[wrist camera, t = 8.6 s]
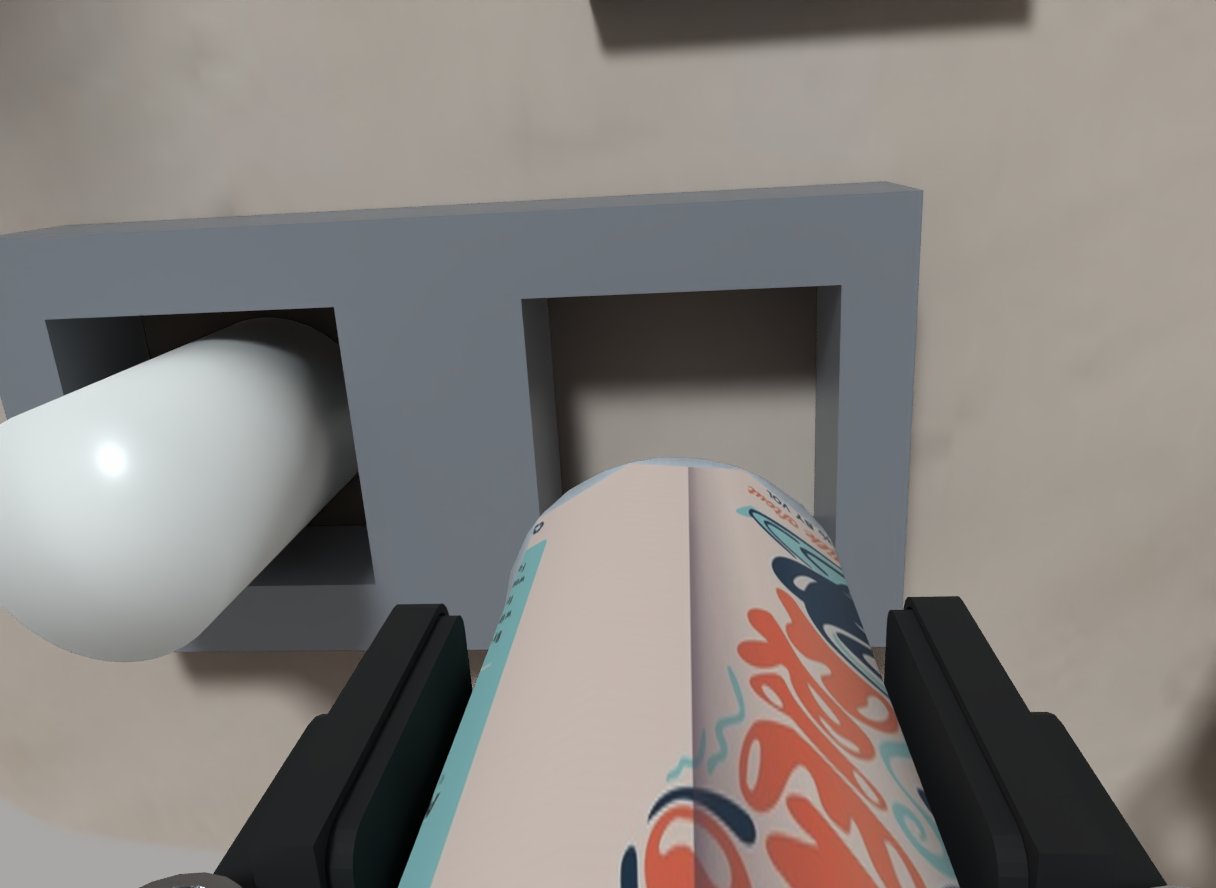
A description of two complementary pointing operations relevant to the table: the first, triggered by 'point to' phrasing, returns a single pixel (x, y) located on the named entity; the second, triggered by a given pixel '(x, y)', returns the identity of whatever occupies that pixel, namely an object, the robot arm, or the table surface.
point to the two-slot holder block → (391, 404)
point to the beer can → (678, 707)
